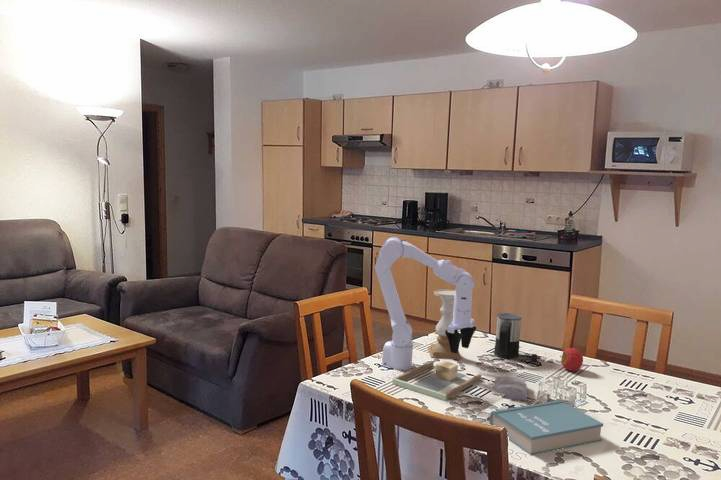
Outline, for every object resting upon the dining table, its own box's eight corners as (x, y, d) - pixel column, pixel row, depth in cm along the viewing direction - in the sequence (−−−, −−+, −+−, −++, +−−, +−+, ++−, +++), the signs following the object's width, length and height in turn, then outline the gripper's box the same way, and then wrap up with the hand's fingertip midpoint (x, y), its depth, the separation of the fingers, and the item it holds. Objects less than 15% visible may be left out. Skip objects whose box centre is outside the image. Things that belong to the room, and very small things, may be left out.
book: (530, 457, 134) (531, 437, 133) (489, 427, 148) (490, 409, 148) (601, 442, 143) (603, 423, 142) (556, 415, 157) (557, 398, 157)
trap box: (392, 388, 171) (392, 378, 171) (430, 369, 189) (431, 360, 189) (444, 405, 160) (445, 395, 160) (480, 383, 178) (481, 374, 178)
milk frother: (492, 349, 213) (495, 311, 211) (535, 353, 211) (538, 314, 209) (496, 362, 199) (499, 321, 197) (542, 366, 197) (545, 325, 195)
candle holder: (462, 363, 196) (466, 296, 193) (430, 362, 196) (434, 294, 193) (457, 353, 207) (461, 289, 204) (427, 352, 207) (431, 288, 204)
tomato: (585, 346, 194) (563, 340, 194) (588, 365, 188) (565, 360, 188) (575, 358, 199) (554, 353, 199) (577, 377, 194) (555, 372, 194)
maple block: (435, 376, 178) (436, 364, 178) (443, 372, 182) (444, 360, 182) (449, 380, 175) (450, 368, 175) (457, 376, 179) (457, 364, 179)
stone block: (495, 404, 168) (529, 401, 166) (492, 388, 167) (527, 385, 165) (493, 390, 179) (526, 388, 177) (491, 375, 179) (524, 373, 177)
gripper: (462, 315, 174) (460, 358, 176) (483, 307, 186) (480, 347, 187) (442, 311, 178) (440, 352, 180) (464, 304, 190) (461, 343, 191)
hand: (459, 350), depth 184 cm, fingers open, 7 cm apart
